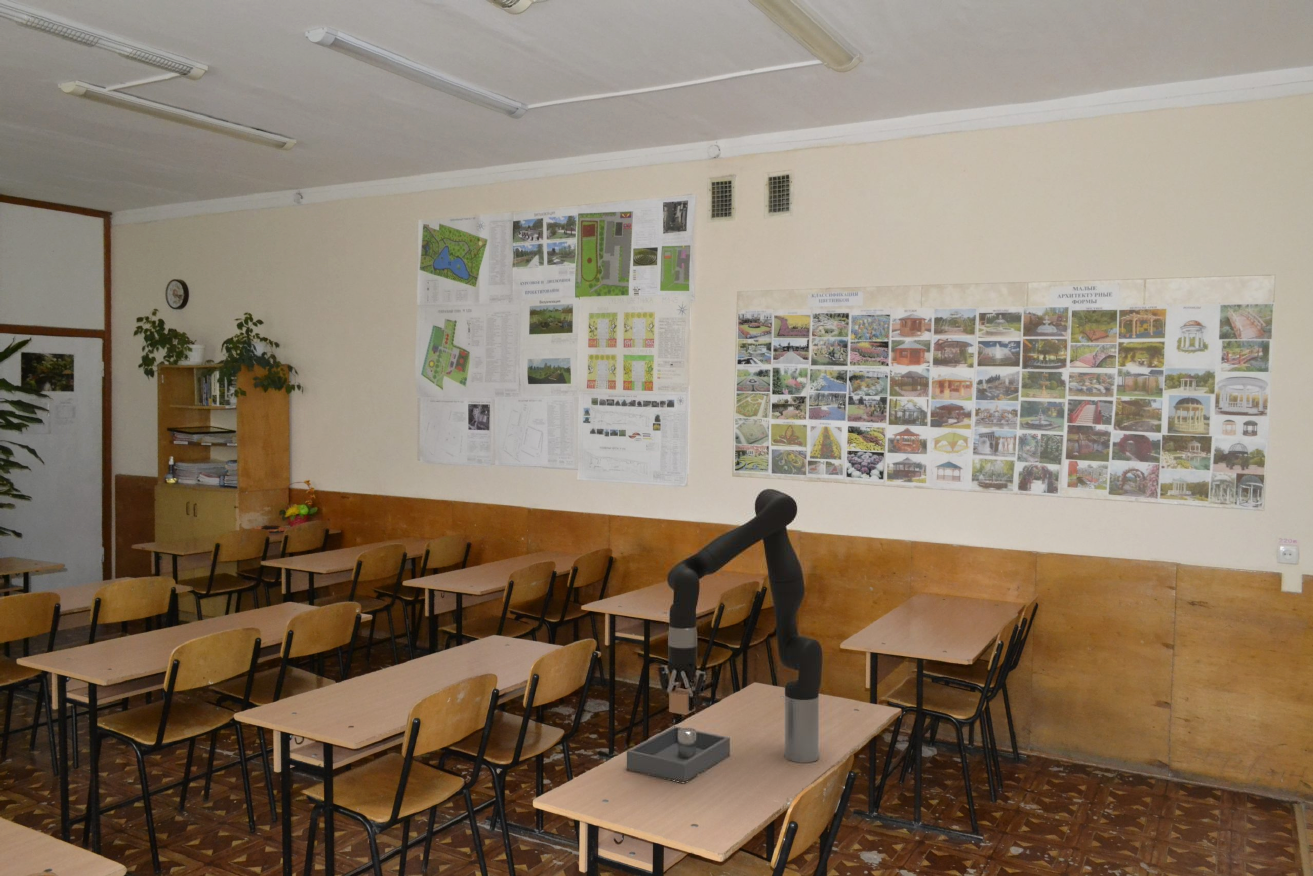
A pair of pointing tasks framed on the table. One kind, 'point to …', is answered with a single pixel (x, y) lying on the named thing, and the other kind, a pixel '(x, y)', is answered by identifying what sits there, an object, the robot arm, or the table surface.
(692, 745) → the cylinder
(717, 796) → the table surface
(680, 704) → the cube
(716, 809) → the table surface
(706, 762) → the tote
